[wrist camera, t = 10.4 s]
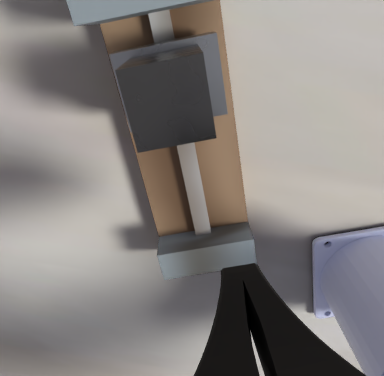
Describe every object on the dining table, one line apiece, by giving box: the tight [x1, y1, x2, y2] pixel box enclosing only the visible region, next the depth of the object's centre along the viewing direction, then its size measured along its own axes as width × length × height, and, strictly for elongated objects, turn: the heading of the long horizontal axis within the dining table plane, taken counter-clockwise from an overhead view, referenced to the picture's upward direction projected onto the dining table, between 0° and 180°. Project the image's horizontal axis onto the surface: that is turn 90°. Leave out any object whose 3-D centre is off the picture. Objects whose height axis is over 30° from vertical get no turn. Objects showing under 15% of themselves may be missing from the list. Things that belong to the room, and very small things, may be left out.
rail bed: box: [100, 0, 257, 280], centre depth 18 cm, size 6×20×3 cm, turn 10°
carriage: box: [109, 31, 228, 153], centre depth 14 cm, size 5×4×6 cm
